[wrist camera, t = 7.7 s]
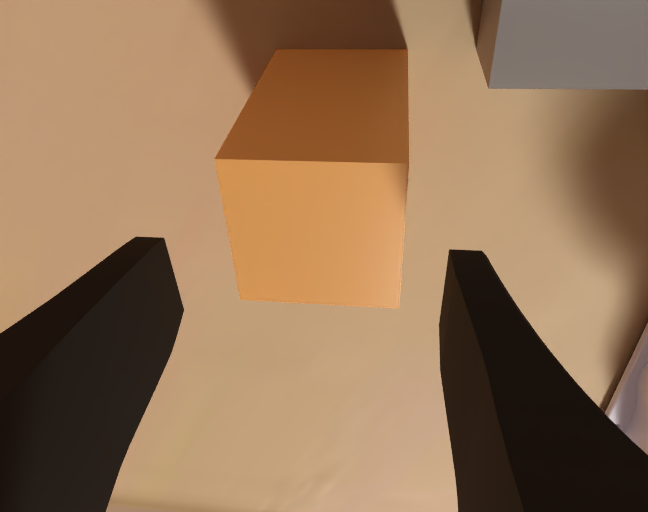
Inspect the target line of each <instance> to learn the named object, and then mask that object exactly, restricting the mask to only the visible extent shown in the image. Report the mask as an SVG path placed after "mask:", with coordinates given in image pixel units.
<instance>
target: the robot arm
mask: <svg viewBox="0 0 648 512" xmlns="http://www.w3.org/2000/svg"><path fill="white" fill-rule="evenodd" d="M183 312H184V308H183V305H182V301H181V297H180V294H179V290H178V286H177V283H176V279H175V276H174V272H173V268H172V265H171V261H170V257H169V254H168V250H167V247H166V243H165V239H164V238H154V237H135V238H133V239H132V240H130V241H129V242H127V243H126V244H124V245H123V246H122V247H120V248H119V249H118V250H116V251H115V252H113V253H112V254H111V255H109V256H108V257H107V258H105V259H104V260H103V261H101V262H100V263H99V264H97V265H96V266H95V267H94V268H92V269H91V270H90V271H88V272H87V273H86V274H84V275H83V276H81V277H80V278H79V279H77V280H76V281H75V282H73V283H72V284H71V285H69V286H68V287H67V288H65V289H64V290H63V291H61V292H60V293H59V294H57V295H56V296H55V297H53V298H52V299H50V300H49V301H47V302H46V303H44V304H43V305H42V306H40V307H39V308H37V309H36V310H34V311H33V312H31V313H30V314H28V315H27V316H25V317H24V318H23V319H21V320H20V321H18V322H17V323H15V324H14V325H12V326H11V327H9V328H8V329H6V330H5V331H3V332H2V333H0V512H106V509H107V506H108V503H109V500H110V497H111V494H112V491H113V488H114V485H115V482H116V479H117V476H118V473H119V470H120V467H121V465H122V462H123V460H124V458H125V455H126V453H127V450H128V448H129V445H130V443H131V441H132V439H133V437H134V434H135V432H136V430H137V428H138V426H139V423H140V421H141V419H142V417H143V415H144V413H145V410H146V408H147V406H148V404H149V402H150V399H151V397H152V395H153V393H154V391H155V389H156V386H157V384H158V382H159V380H160V377H161V375H162V373H163V371H164V368H165V366H166V364H167V362H168V359H169V357H170V355H171V352H172V349H173V346H174V343H175V340H176V337H177V333H178V330H179V326H180V323H181V319H182V315H183ZM439 337H440V371H441V378H442V385H443V393H444V400H445V407H446V414H447V421H448V428H449V435H450V442H451V448H452V455H453V462H454V469H455V477H456V487H457V497H458V512H648V323H647V325H646V327H645V330H644V332H643V334H642V336H641V338H640V340H639V342H638V344H637V346H636V348H635V351H634V353H633V355H632V357H631V359H630V361H629V363H628V365H627V367H626V370H625V372H624V374H623V376H622V378H621V380H620V382H619V384H618V386H617V388H616V391H615V393H614V395H613V397H612V399H611V401H610V403H609V405H608V407H607V409H606V412H605V413H604V412H603V411H602V410H601V409H600V408H599V407H598V406H597V405H596V404H595V403H594V402H593V400H592V399H591V398H590V397H589V396H588V395H587V394H586V393H585V392H584V391H583V390H582V388H581V387H580V386H579V385H578V384H577V383H576V382H575V381H574V379H573V378H572V377H571V376H570V375H569V374H568V372H567V371H566V370H565V369H564V368H563V366H562V365H561V364H560V363H559V361H558V360H557V359H556V358H555V356H554V355H553V354H552V353H551V352H550V350H549V349H548V348H547V346H546V345H545V344H544V342H543V341H542V340H541V339H540V337H539V336H538V335H537V333H536V332H535V330H534V329H533V328H532V326H531V325H530V323H529V322H528V321H527V319H526V318H525V316H524V315H523V314H522V312H521V311H520V309H519V308H518V306H517V305H516V303H515V302H514V300H513V299H512V297H511V296H510V294H509V293H508V291H507V290H506V288H505V286H504V285H503V283H502V282H501V280H500V278H499V277H498V275H497V273H496V272H495V270H494V268H493V267H492V265H491V263H490V261H489V259H488V258H487V256H486V255H485V254H484V253H483V252H482V251H473V250H449V256H448V263H447V271H446V278H445V285H444V293H443V300H442V308H441V315H440V322H439Z"/></svg>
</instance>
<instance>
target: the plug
mask: <svg viewBox="0 0 648 512" xmlns="http://www.w3.org/2000/svg"><path fill="white" fill-rule="evenodd" d="M215 165H216V170H217V176H218V181H219V187H220V192H221V197H222V203H223V208H224V214H225V219H226V225H227V230H228V236H229V241H230V247H231V252H232V257H233V263H234V268H235V274H236V279H237V285H238V290H239V296H240V300H254V301H272V302H291V303H309V304H328V305H346V306H364V307H383V308H399V302H400V287H401V273H402V258H403V244H404V229H405V214H406V200H407V185H408V170H409V121H408V49H276V51H275V53H274V55H273V56H272V58H271V60H270V62H269V64H268V65H267V67H266V69H265V71H264V72H263V74H262V76H261V78H260V79H259V81H258V83H257V85H256V87H255V88H254V90H253V92H252V94H251V95H250V97H249V99H248V101H247V102H246V104H245V106H244V108H243V110H242V111H241V113H240V115H239V117H238V118H237V120H236V122H235V124H234V125H233V127H232V129H231V131H230V132H229V134H228V136H227V138H226V140H225V141H224V143H223V145H222V147H221V148H220V150H219V152H218V154H217V155H216V157H215Z"/></svg>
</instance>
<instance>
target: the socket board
mask: <svg viewBox="0 0 648 512" xmlns="http://www.w3.org/2000/svg"><path fill="white" fill-rule="evenodd" d="M476 50H477V54H478V57H479V60H480V63H481V66H482V69H483V73H484V76H485V79H486V82H487V85H488V88H493V89H628V90H648V0H483V4H482V11H481V18H480V26H479V33H478V41H477V48H476Z"/></svg>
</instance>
